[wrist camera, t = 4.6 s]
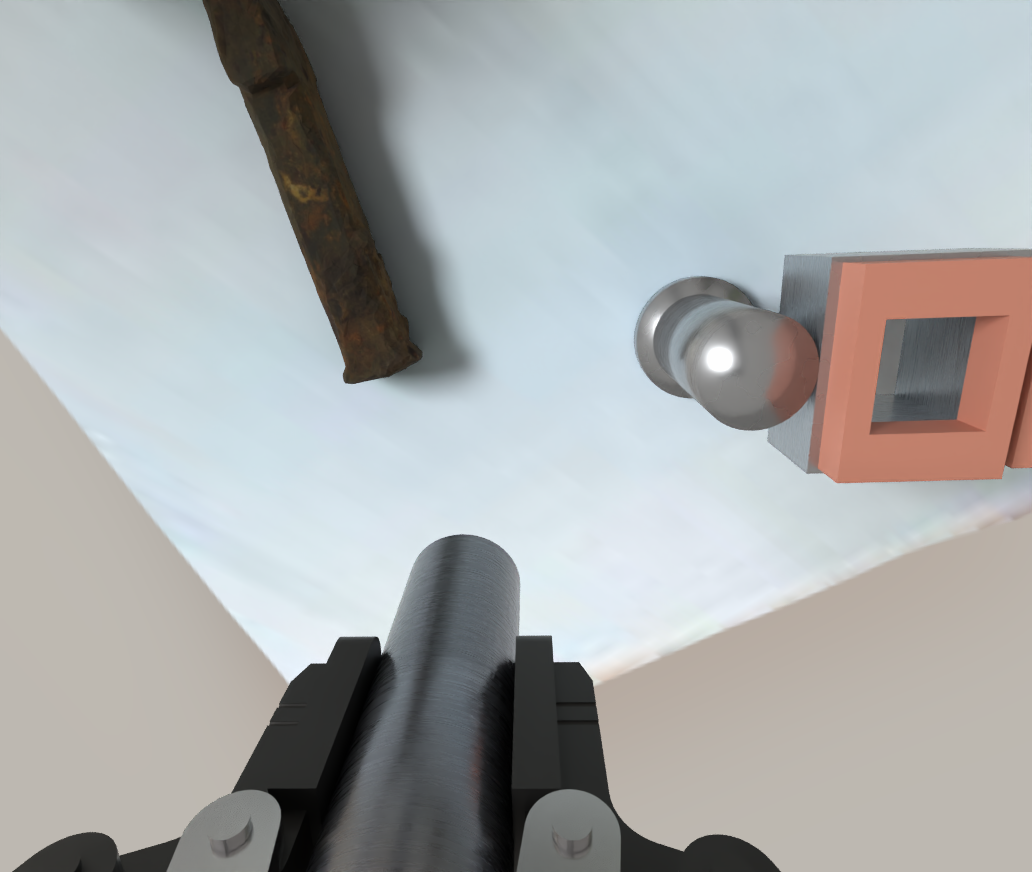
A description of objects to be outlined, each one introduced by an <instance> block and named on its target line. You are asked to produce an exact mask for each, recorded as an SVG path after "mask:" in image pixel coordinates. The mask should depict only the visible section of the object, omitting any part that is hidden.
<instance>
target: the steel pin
mask: <svg viewBox="0 0 1032 872" xmlns="http://www.w3.org/2000/svg"><path fill="white" fill-rule="evenodd" d="M519 613H520V577H519V573H518V570H517V567H516V565H515V563H514V562H513V560H512V558H511V557H510V556H509V555H508V553H507V552H506V551H505V550H504V549H502V548H501V547H500V546H498V545H497V544H495V543H494V542H492V541H490V540H487V539H485V538H482V537H479V536H474V535H463V534H462V535H453V536H448V537H445V538H441V539H439V540H437V541H435V542H433V543H432V544H430V545H429V546H428V547H426V548H425V549H424V550H423V551H422V552H421V553H420V554H419V556H418V557H417V559H416V561H415V563H414V565H413V567H412V570H411V573H410V576H409V579H408V582H407V584H406V587H405V590H404V593H403V596H402V599H401V602H400V604H399V607H398V610H397V613H396V616H395V619H394V622H393V624H392V627H391V630H390V633H389V636H388V639H387V642H386V644H385V647H384V650H383V653H382V656H381V659H380V662H379V664H378V667H377V670H376V673H375V676H374V679H373V682H372V684H371V687H370V690H369V693H368V696H367V699H366V701H365V704H364V707H363V710H362V713H361V716H360V719H359V721H358V724H357V727H356V730H355V733H354V736H353V739H352V741H351V744H350V747H349V750H348V753H347V756H346V759H345V761H344V764H343V767H342V770H341V773H340V776H339V779H338V781H337V784H336V787H335V790H334V793H333V796H332V799H331V801H330V804H329V807H328V810H327V813H326V816H325V818H324V821H323V824H322V827H321V830H320V833H319V836H318V838H317V841H316V844H315V847H314V850H313V853H312V856H311V858H310V861H309V864H308V867H307V870H306V872H514V852H515V850H514V842H513V819H512V756H513V722H514V687H515V652H516V636H519Z"/></svg>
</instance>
